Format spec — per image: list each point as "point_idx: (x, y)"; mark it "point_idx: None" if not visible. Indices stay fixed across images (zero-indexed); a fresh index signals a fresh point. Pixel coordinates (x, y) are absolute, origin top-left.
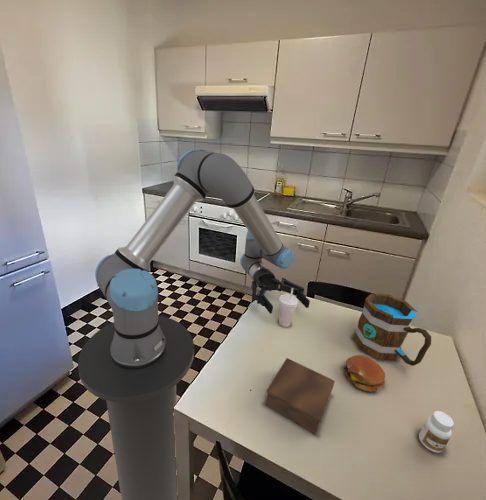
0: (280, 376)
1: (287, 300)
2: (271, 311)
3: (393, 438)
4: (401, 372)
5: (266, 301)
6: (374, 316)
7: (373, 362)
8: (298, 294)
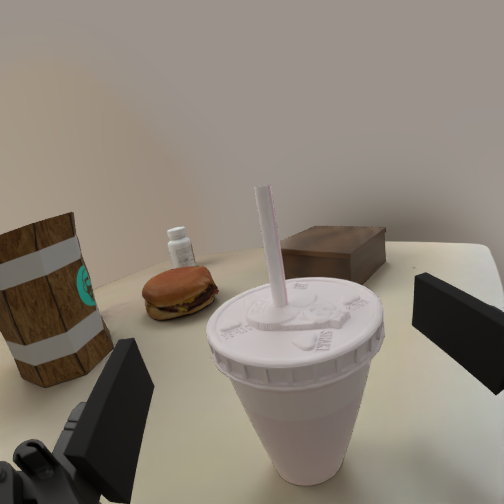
0: (365, 236)
1: (311, 292)
2: (417, 309)
3: (222, 265)
4: (103, 315)
5: (469, 297)
6: (74, 233)
7: (154, 278)
8: (107, 449)
